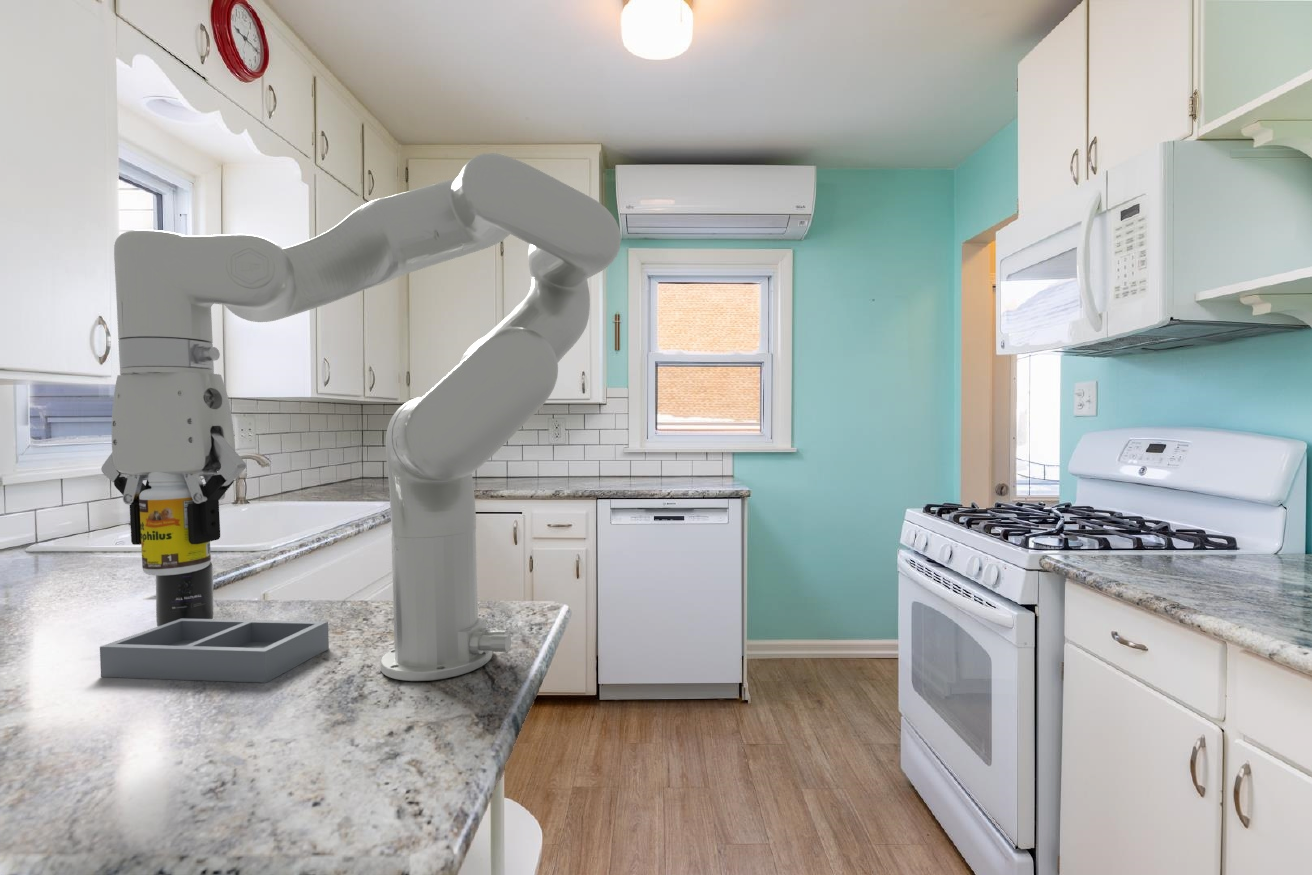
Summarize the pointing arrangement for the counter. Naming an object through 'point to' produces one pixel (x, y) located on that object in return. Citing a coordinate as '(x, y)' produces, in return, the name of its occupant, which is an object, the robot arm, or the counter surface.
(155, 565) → the supplement bottle
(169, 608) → the supplement bottle
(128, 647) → the divided tray
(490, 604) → the counter surface
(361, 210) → the robot arm
